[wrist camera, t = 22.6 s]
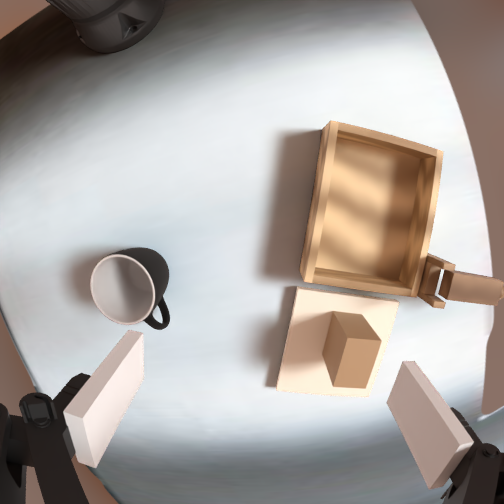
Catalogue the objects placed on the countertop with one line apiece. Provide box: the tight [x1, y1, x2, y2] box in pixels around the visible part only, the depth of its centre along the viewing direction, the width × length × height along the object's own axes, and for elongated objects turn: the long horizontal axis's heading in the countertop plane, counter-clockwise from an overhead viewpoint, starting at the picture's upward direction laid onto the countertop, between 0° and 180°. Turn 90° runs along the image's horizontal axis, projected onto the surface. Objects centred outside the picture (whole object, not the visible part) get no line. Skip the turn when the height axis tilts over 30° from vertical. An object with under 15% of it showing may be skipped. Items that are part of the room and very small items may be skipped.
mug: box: [90, 248, 170, 330], centre depth 42 cm, size 12×9×10 cm
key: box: [438, 270, 504, 306], centre depth 36 cm, size 4×11×2 cm, turn 81°
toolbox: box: [299, 121, 455, 309], centre depth 39 cm, size 20×18×10 cm
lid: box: [276, 286, 399, 397], centre depth 42 cm, size 17×16×11 cm
